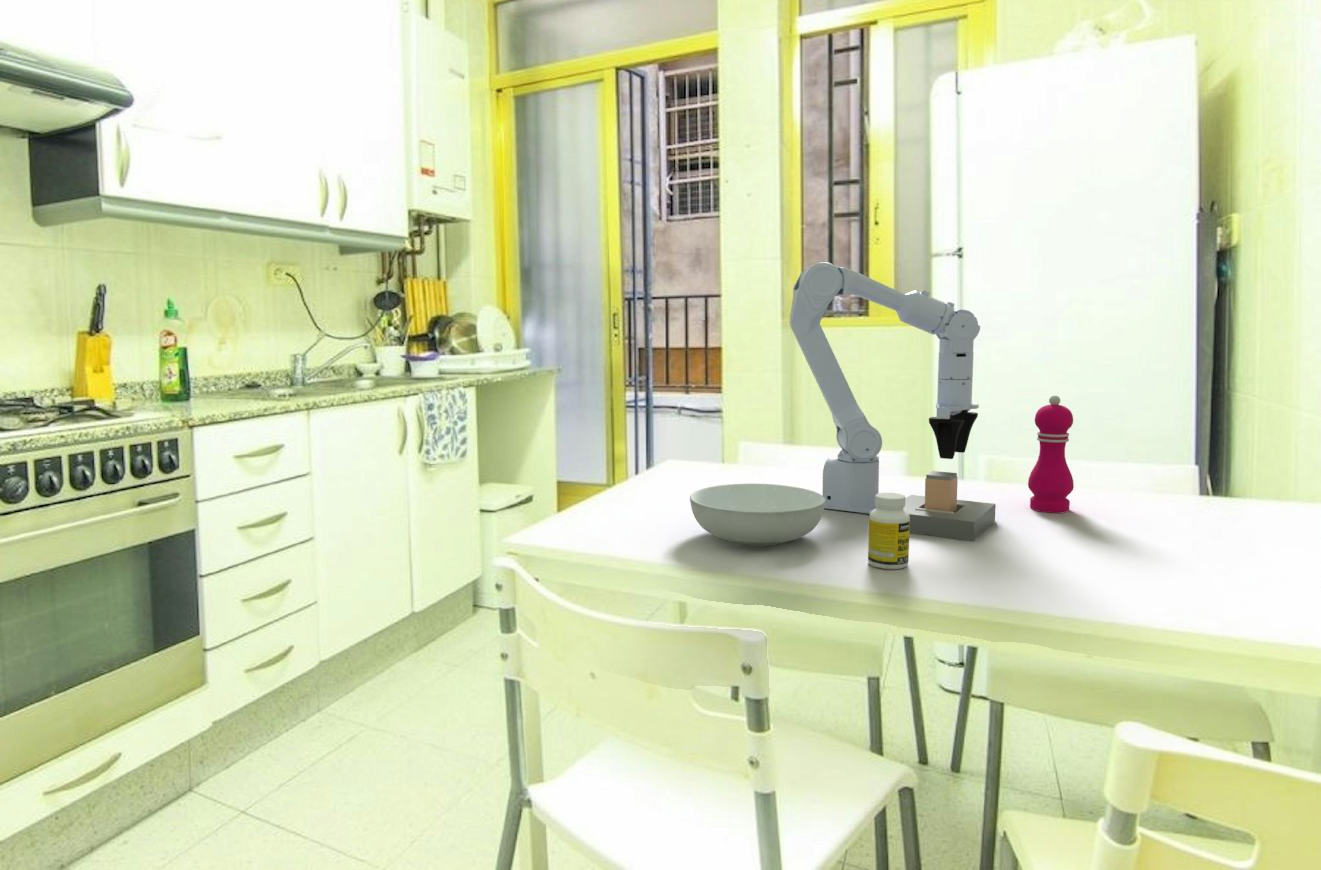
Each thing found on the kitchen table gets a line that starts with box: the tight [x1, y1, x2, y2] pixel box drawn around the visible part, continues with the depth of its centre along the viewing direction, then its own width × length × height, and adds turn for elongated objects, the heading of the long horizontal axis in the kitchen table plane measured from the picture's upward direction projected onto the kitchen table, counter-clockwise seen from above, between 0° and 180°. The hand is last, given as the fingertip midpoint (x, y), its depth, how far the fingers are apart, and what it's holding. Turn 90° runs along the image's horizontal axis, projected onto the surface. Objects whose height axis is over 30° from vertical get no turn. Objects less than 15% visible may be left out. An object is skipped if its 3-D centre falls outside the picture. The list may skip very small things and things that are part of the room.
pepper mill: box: [1027, 395, 1074, 514], centre depth 141 cm, size 7×7×20 cm
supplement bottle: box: [867, 492, 910, 570], centre depth 112 cm, size 5×5×10 cm
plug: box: [924, 470, 958, 513], centre depth 132 cm, size 4×4×9 cm
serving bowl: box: [689, 483, 826, 547], centre depth 127 cm, size 21×21×7 cm
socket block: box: [903, 494, 997, 542], centre depth 133 cm, size 14×14×3 cm
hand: (952, 455), depth 144 cm, fingers open, 7 cm apart
